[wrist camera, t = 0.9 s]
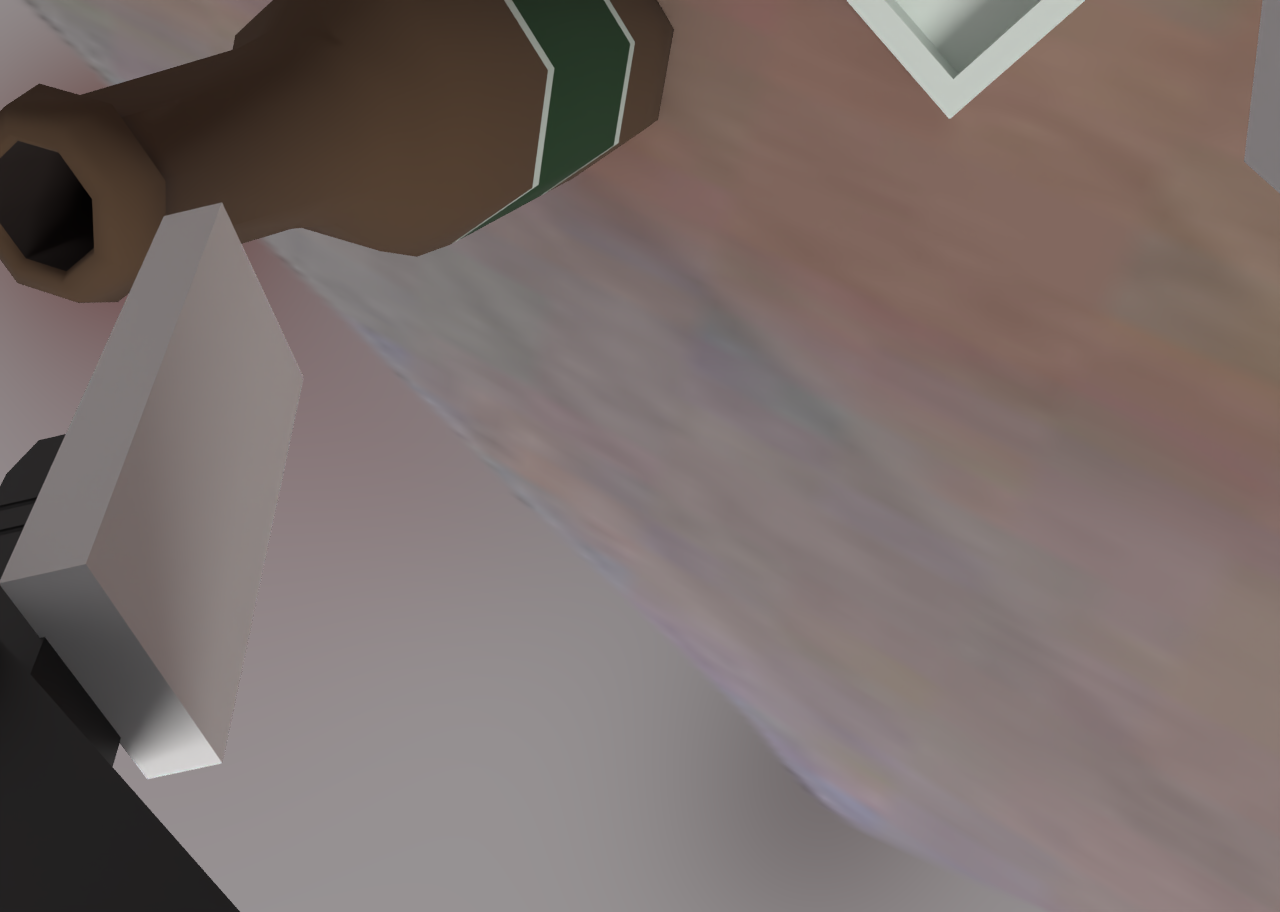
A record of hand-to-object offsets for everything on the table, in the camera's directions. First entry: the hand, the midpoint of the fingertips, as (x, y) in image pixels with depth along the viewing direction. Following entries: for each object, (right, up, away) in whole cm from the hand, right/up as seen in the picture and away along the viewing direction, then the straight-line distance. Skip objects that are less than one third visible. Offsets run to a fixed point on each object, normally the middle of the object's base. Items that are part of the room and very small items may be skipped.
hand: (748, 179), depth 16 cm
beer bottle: (-4, +10, +26) cm, 28 cm away
